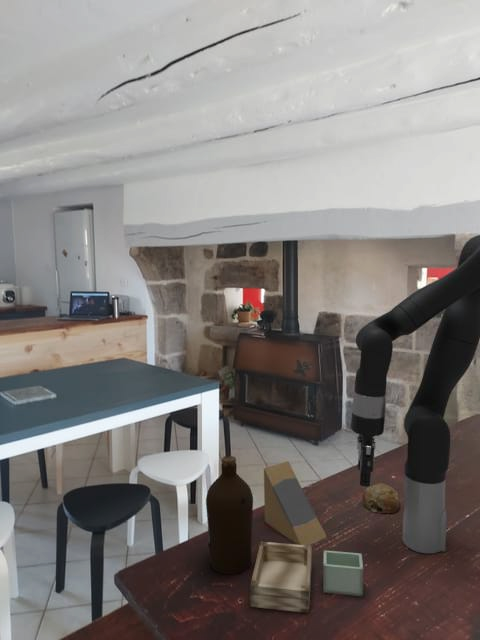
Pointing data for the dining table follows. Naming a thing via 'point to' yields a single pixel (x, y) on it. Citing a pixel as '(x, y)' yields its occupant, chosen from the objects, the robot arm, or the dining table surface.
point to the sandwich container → (289, 506)
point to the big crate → (282, 577)
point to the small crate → (343, 573)
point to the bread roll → (381, 498)
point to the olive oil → (229, 520)
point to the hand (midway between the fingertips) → (363, 477)
